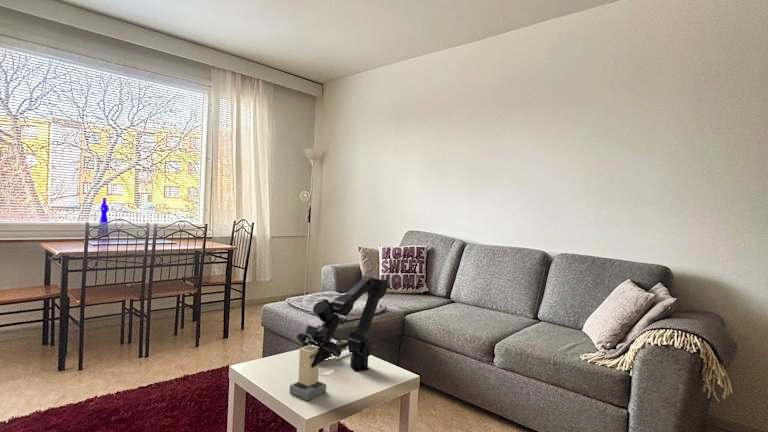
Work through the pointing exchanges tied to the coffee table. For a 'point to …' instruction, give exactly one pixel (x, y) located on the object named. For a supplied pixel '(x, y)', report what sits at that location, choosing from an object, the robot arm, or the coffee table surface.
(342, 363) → the coffee table surface
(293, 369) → the coffee table surface
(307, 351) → the kraft box
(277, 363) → the coffee table surface
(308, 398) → the tray
